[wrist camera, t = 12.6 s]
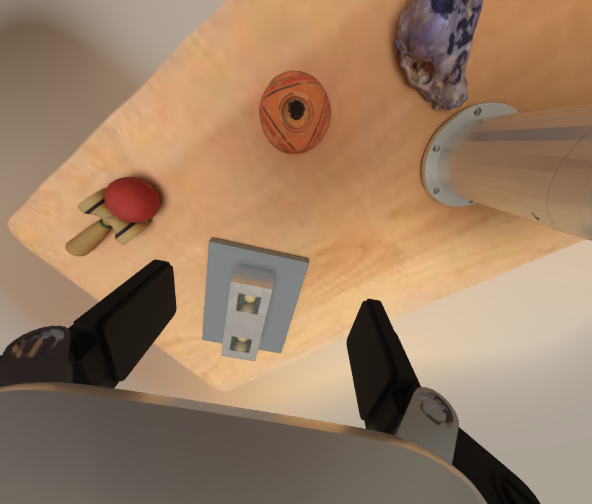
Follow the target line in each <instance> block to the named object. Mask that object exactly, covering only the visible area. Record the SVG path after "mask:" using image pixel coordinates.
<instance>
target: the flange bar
mask: <svg viewBox="0 0 592 504" xmlns="http://www.w3.org/2000/svg"><path fill="white" fill-rule="evenodd" d="M274 277H275V271H271V270H266V269H261V268H256V267H252V266H247V265H242V264H239V266H238V268H237V270H236V272H235V274H234V276H233V278H232V280H231V284H230V291H229V299H228V307H227V314H226V322H225V329H224V337H223V345H222V352H221V356H226V357H232V358H238V359H244V360H250V361H255V360H256V356H257V351H258V347H259V343H260V339H261V335H262V331H263V326H264V322H265V318H266V314H267V310H268V306H269V301H270V297H271V293H272V289H273V283H274ZM245 295H250V296H255V297H256V298H255V301H254V302H252V303H249V302H246V301H245V299H244V297H245ZM238 337H240V338H245V339H247V340H246V341H245V342H241V341H239V340H238Z"/></svg>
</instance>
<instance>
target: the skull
mask: <svg viewBox="0 0 592 504" xmlns="http://www.w3.org/2000/svg"><path fill="white" fill-rule="evenodd" d="M482 4H483V0H407V2H406V5H405V7H404V9H403V10H402V11H401V12H400V17H399V23H398V28H397V38H396V40H395V46H396V48H397V58H398V59H399V60H400V66H401V68H403V69H404V70H405V72H406V75H407V78H408V81H409V84H410V85H411V86H413V87H416V88H417V89H418V90H420V94H423V96H424V97H425V100H428V101H435V102H436V103H437V104H436V107H435V108H434V110H437V109H439V108H440V107H442V106H443V107H445V108H444V110H451V109H452V108H454V107H460V106H461V105H462V104H463V102H464V101H466V100H467V98H468V96H467V90H466V87H467V81H466V79H465V70H466V64H467V60H468V57H469V53H470V48H471V45H472V39H473V34H474V31H475V28H476V25H477V22H478V19H479V15H480V12H481V9H482ZM414 63H416V67H417V69H415V68H413V67H412V66H413V64H414Z"/></svg>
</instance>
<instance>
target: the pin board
mask: <svg viewBox="0 0 592 504" xmlns="http://www.w3.org/2000/svg"><path fill="white" fill-rule="evenodd" d="M239 264H242V265H247V266H252V267H256V268H261V269H266V270H271V271H275V277H274V283H273V289H272V293H271V297H270V301H269V306H268V310H267V314H266V318H265V322H264V326H263V331H262V335H261V339H260V343H259V347H258V350H264V351H270V352H276V353H281V352H282V348H283V345H284V342H285V339H286V335H287V332H288V329H289V326H290V323H291V319H292V316H293V313H294V310H295V306H296V303H297V300H298V297H299V293H300V290H301V287H302V284H303V281H304V277H305V274H306V271H307V268H308V264H309V259H308V258H303V257H299V256H294V255H289V254H285V253H280V252H276V251H271V250H267V249H262V248H257V247H253V246H248V245H244V244H239V243H235V242H230V241H226V240H221V239H216V238H212V239H211V240H210V241H209V248H208V262H207V277H206V292H205V306H204V321H203V335H202V340H206V341H212V342H218V343H223V337H224V329H225V322H226V314H227V307H228V299H229V291H230V284H231V280H232V278H233V276H234V274H235V272H236V270H237V268H238V266H239ZM255 298H256V297H255V296H250V295H245V297H244V299H245V301H246V302H249V303H252V302H254V301H255ZM238 340H239V341H241V342H245V341H246V340H247V339H245V338H240V337H238Z"/></svg>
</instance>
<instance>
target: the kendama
mask: <svg viewBox="0 0 592 504" xmlns="http://www.w3.org/2000/svg"><path fill="white" fill-rule="evenodd" d="M159 205H160V201H159V197H158V194H157V192H156V191H155V190H154V188H153V187H152V186H151V185H149V184H148V183H146V182H145V181H143V180H141V179H137V178H134V177H124V178H120V179H117V180H115V181H113V182H112V183H110V184H109V185H108V187H107V188H103V189H101V190H99V191H97V192H96V193H94V194H93V195H91V196H89V197H88V198H87V199H85V200H84V201H83V202H82V203H80V204H79V205H78V207H77V208H78V209H79V210H80V211H82V212H83V213H85V214H92V215H96V216H99V217H101V218H102V219H101V220H100V221H98V222H96V223H94V224H93V225H91V226H90V227H88V228H87V229H85V230H84V231H83V232H81V233H80V234H79V235H77V236H76V237H74V238H73V239H71V240H70V241H68V242H67V244H66V250H67V251H68V252H69V253H70V254H72V255H74V256H85V255H87V254H89V253H90V252H91V250H92V249H93V248H94V247H95V246H96V245H97V244H98V243H99V242H100V241H101V240H102V239H103V238H104V237H105V236H106V234H107V233H108V232H109V230H110V229H111V227H112V228H113V230H114V232H115V240H116V241H118V242H119V243H121V244H122V245H124V244H126V243H127V242H128V241H130V240H131V239H133V238H134V237H135V236H136V235H138V234H139V233H140V232H141V231H142V230H144V229H145V228H146V227H147V226H148V225H149V222H148V221H147V220H149V219H151V218H152V217H154V216H155V214H156V213H157V211H158V209H159Z"/></svg>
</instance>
